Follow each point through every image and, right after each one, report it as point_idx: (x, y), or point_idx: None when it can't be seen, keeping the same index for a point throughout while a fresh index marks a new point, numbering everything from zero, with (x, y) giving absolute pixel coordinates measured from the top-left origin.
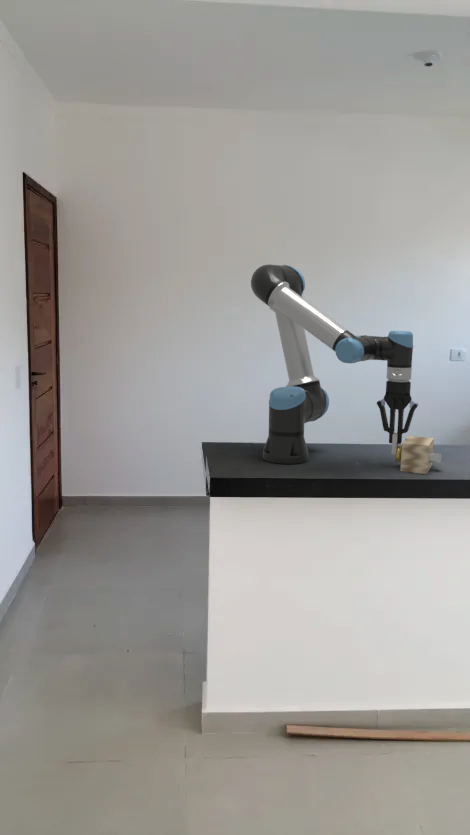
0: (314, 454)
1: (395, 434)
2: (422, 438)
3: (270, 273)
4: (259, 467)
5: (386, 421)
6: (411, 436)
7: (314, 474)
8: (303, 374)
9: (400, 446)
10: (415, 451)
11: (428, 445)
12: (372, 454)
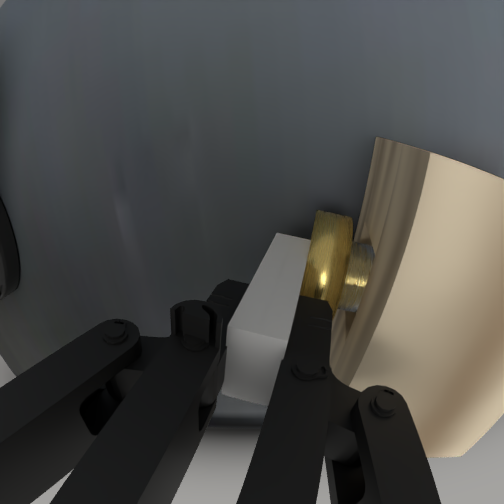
0: (3, 145)
1: (251, 401)
2: None
3: None
4: (3, 320)
5: (77, 443)
6: (461, 188)
7: None
8: None
9: (324, 299)
10: None
11: (461, 455)
12: (163, 7)
